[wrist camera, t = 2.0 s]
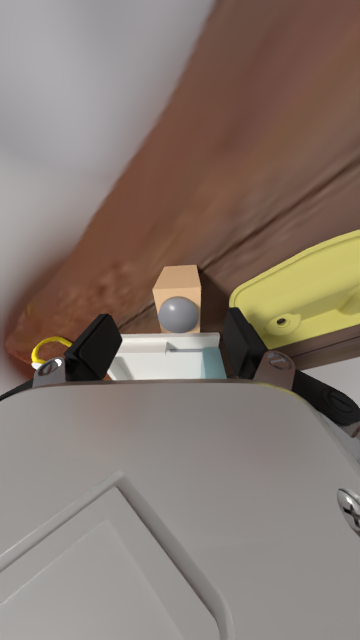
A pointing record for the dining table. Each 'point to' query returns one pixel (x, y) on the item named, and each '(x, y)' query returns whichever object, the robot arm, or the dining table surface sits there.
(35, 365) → the watch
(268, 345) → the plastic component
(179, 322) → the block
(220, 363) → the light blue rectangular block
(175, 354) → the housing
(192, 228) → the dining table surface
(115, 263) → the dining table surface
